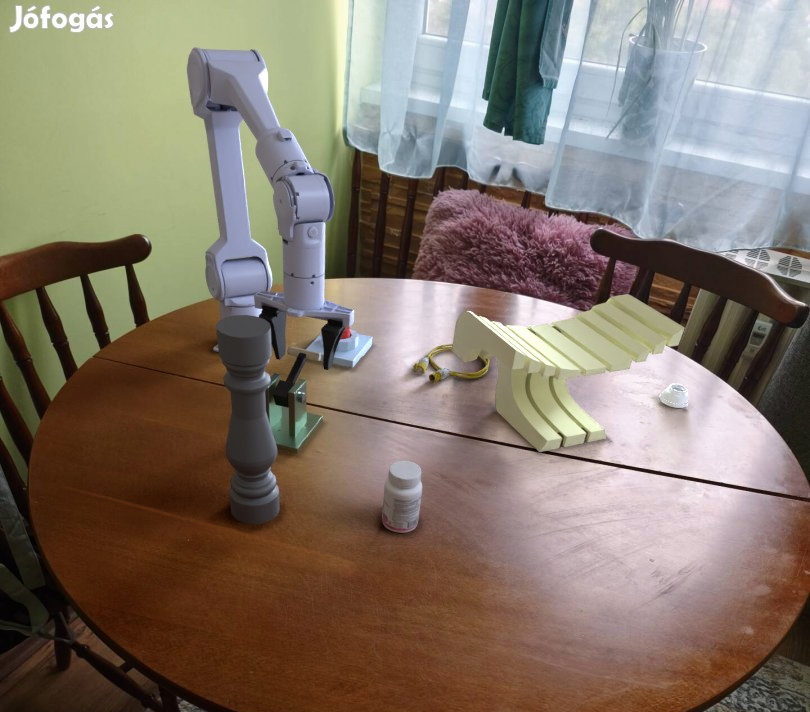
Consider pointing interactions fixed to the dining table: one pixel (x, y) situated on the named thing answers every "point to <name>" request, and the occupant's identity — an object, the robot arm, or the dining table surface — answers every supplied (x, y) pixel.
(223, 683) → the dining table surface
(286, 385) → the switch lever
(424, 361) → the extension cord
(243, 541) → the dining table surface
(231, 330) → the candle holder
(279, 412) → the switch bracket
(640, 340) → the slatted curved stool
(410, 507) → the pill bottle
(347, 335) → the button
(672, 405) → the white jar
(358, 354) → the button box
